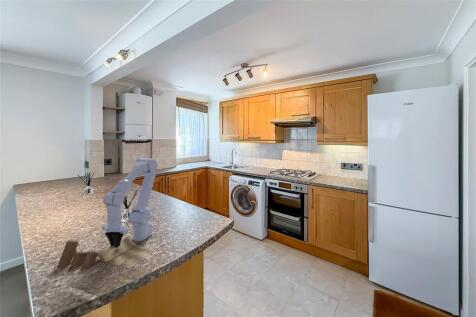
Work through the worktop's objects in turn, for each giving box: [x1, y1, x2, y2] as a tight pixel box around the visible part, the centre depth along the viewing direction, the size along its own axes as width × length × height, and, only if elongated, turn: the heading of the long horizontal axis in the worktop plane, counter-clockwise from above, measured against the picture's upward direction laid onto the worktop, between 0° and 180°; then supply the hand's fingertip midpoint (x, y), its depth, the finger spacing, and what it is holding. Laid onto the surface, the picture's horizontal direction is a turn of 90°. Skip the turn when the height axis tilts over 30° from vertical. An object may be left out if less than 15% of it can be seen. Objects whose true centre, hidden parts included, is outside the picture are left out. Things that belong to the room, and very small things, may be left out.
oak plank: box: [97, 236, 138, 264], centre depth 99 cm, size 16×7×1 cm, turn 159°
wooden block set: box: [57, 239, 99, 269], centre depth 92 cm, size 18×9×10 cm, turn 69°
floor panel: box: [107, 245, 158, 270], centre depth 96 cm, size 16×12×1 cm
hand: (115, 246), depth 100 cm, fingers closed
